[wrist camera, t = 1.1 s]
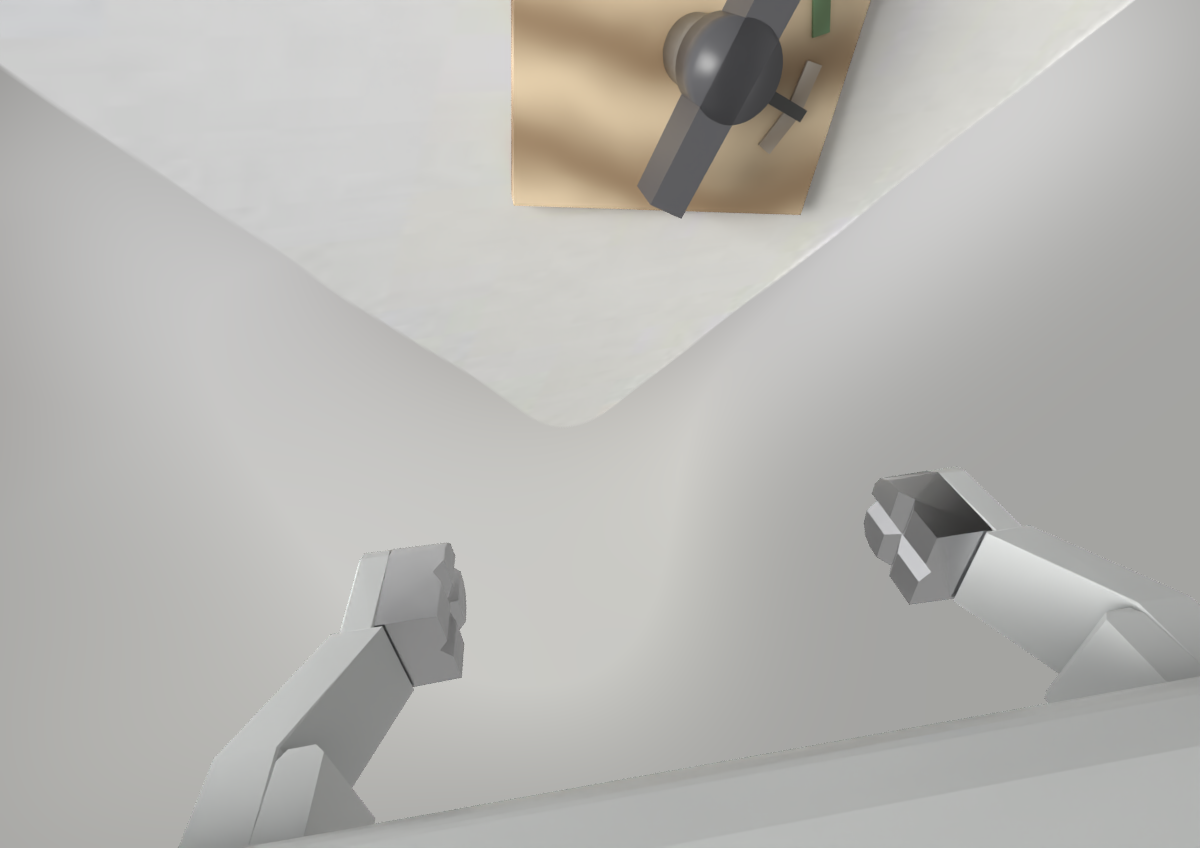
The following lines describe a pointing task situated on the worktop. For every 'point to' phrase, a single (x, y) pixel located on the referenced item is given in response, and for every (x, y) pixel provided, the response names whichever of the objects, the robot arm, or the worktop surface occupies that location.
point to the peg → (715, 91)
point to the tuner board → (660, 105)
